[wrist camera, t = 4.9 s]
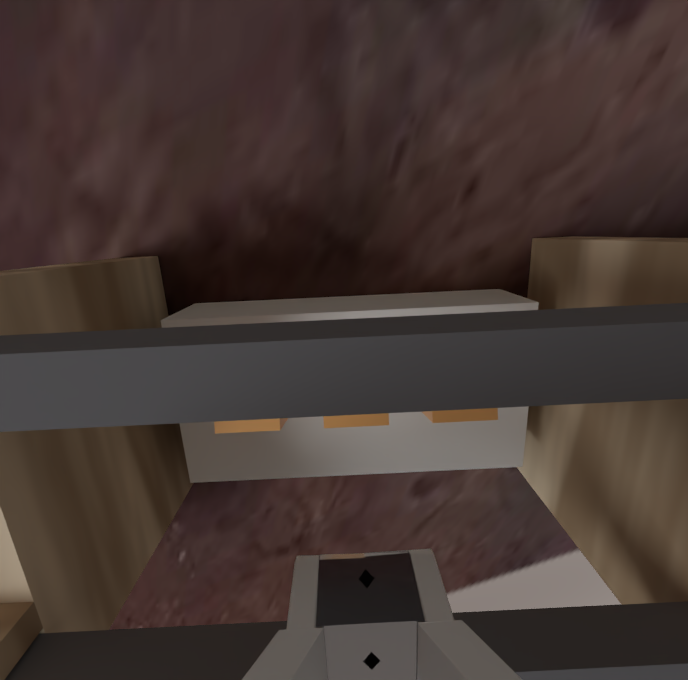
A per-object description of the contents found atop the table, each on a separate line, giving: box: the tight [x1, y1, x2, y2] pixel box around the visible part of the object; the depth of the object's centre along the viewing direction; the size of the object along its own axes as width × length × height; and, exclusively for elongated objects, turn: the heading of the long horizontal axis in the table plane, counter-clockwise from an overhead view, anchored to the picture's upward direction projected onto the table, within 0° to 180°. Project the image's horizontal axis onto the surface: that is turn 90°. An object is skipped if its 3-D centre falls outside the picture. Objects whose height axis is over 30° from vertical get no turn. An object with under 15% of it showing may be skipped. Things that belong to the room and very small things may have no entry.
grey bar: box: [5, 601, 688, 680], centre depth 11 cm, size 24×2×2 cm, turn 93°
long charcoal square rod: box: [0, 303, 688, 432], centre depth 8 cm, size 24×2×2 cm, turn 93°
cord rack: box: [0, 236, 688, 680], centre depth 15 cm, size 23×13×13 cm, turn 93°
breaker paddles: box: [214, 408, 498, 434], centre depth 15 cm, size 10×1×3 cm, turn 93°
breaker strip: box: [161, 289, 539, 483], centre depth 19 cm, size 16×8×4 cm, turn 93°
